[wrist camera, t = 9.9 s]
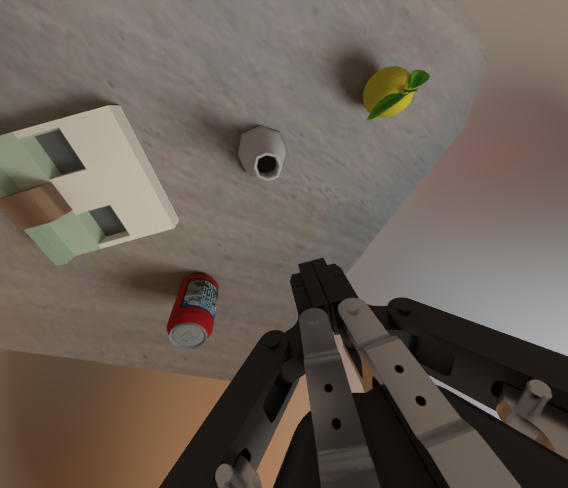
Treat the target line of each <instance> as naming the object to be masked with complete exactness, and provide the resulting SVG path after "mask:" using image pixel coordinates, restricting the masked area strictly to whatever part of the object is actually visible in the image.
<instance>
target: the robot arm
mask: <svg viewBox="0 0 568 488" xmlns="http://www.w3.org/2000/svg"><path fill="white" fill-rule="evenodd" d="M298 265H299V270H300V273H297V274H293V275H292V276H291V280H290V283H291V287H292V291H293V295H294V299H295V303H296V306H297V310H298V315H299V316H298V321H297V323H296V324H295V325H294V326H293V327H292V328H291V329H290V330H288V331H286V332H285V333H284V332H282V331H279V330H273V331H269V332H267V333H266V334H264V335H263V336H262V337H261V338H260V340H259V341H258V343H257V344H256V346H255V347H254V349H253V350H252V352H251V353H250V355H249V356H248V358H247V359H246V361H245V362H244V363H243V365H242V366H241V368H240V369H239V371H238V372H237V374H236V375H235V377H234V378H233V380H232V381H231V383H230V384H229V386H228V387H227V389H226V390H225V391H224V393H223V394H222V396H221V397H220V399H219V400H218V402H217V403H216V405H215V406H214V408H213V409H212V411H211V412H210V413H209V415H208V416H207V418H206V419H205V421H204V422H203V424H202V425H201V427H200V428H199V430H198V431H197V433H196V434H195V435H194V437H193V439H192V440H191V441H190V443H189V444H188V446H187V447H186V449H185V450H184V452H183V453H182V455H181V456H180V458H179V459H178V461H177V462H176V463H175V465H174V466H173V468H172V469H171V471H170V472H169V474H168V475H167V477H166V478H165V480H164V481H163V483H162V484H161V485H160V487H159V488H262V487H261V480H260V477H259V475H258V473H257V472H256V470H257V468H258V466H259V464H260V462H261V460H262V458H263V455H264V454H265V451H266V449H267V447H268V445H269V443H270V441H271V439H272V437H273V435H274V432H275V430H276V428H277V426H278V424H279V422H280V420H281V418H282V416H283V413H284V411H285V409H286V407H287V405H288V403H289V401H290V399H291V397H292V394H293V392H294V390H295V388H296V386H297V384H298V382H299V378H300V377H301V376H303V375H304V374H306V380H307V386H308V393H309V400H310V407H311V411H310V412H308V413H307V414H306V416H305V417H303V419H302V420H301V422H300V423H299V424H298V426H297V428H296V430H295V432H294V434H293V437H292V439H291V442H290V445H289V447H288V450H287V452H286V455H285V458H284V461H283V463H282V465H281V468H280V471H279V473H278V476H277V478H276V481H275V484H274V486H273V488H568V356H565V355H563V354H560V353H557V352H554V351H552V350H549V349H546V348H543V347H541V346H537V345H535V344H532V343H530V342H527V341H524V340H521V339H519V338H516V337H513V336H510V335H508V334H505V333H502V332H499V331H497V330H494V329H491V328H488V327H485V326H483V325H480V324H477V323H475V322H472V321H469V320H466V319H463V318H461V317H458V316H455V315H453V314H449V313H447V312H444V311H442V310H439V309H436V308H433V307H430V306H428V305H425V304H422V303H420V302H416V301H414V300H411V299H408V298H395V299H393V300H391V301H390V302H389V303H388V306H372V305H368V304H366V303H365V302H364V301H363V300H361V299H359V298H358V296H357V295H356V293H355V291H354V289H353V288H352V286H351V284H350V283H349V281H348V280H347V278H346V276H345V275H344V273H343V271H342V269H341V268H340V267H339V266H337V265H336V264H331V265H327V264H326V262H325V260H324V258H320V259H316V260H312V261H311V262H310V261H308V262H305V263H301V264H298ZM333 332H334V334H335V335H338V334H340V336H341V338H342V341H343V347H344V349H345V351H346V353H347V355H348V357H349V359H350V361H351V363H352V365H353V367H354V369H355V371H356V373H357V375H358V377H359V379H360V381H361V384H362V386H363V389H364V392H365V393H351V389H350V386H349V383H348V379H347V376H346V372H345V369H344V366H343V363H342V359H341V356H340V353H339V352H338V350H337V346H336V343H335V339H334V334H333ZM427 374H428V375H430V376H432V377H434V378H435V379H438V380H439V381H441V382H443V383H445V384H447V385H448V386H450V387H452V388H454V389H456V390H458V391H460V392H461V393H463V394H465V395H467V396H469V397H471V398H473V399H474V400H476V401H478V402H480V403H482V404H484V405H486V406H487V407H489V408H491V409H493V410H495V411H497V414H498V415H499V417H500V419H501V420H502V421H503V422H502V421H500V420H499V419H497V418H495V417H494V416H492V415H490V414H488V413H486V412H485V411H483V410H481V409H479V408H478V407H476V406H474V405H473V404H471V403H469V402H468V401H466V400H464V399H463V398H461V397H459V396H457V395H456V394H454V393H452V392H450V391H449V390H447V389H445V388H442V387H440V386H438V385H435V384H434V382H433V381H432V380H431V378H430V377H429V376H428V375H427Z"/></svg>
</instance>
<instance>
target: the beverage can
mask: <svg viewBox="0 0 568 488" xmlns="http://www.w3.org/2000/svg"><path fill="white" fill-rule="evenodd" d="M217 297H218V284H217V282H216V281H215V280H214V279H213V278H212V277H210V276H208V275H204V274H194V275H191V276H189V277H187V278H186V279H185V280H184V281H183V282H182V285H181V287H180V290H179V293H178V295H177V298H176V301H175V303H174V306H173V309H172V312H171V315H170V318H169V321H168V324H167V332H168V335H169V340H170V342H171V343H172V344H173V345H174V346H176V347H178V348H181V349H195V348H198V347H200V346H202V345H203V344H204V343H205V342H206V339H207V338H208V337H209V336H210V335H211V333H212V331H213V324H214V318H215V311H216V304H217Z"/></svg>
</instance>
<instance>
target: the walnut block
mask: <svg viewBox="0 0 568 488" xmlns="http://www.w3.org/2000/svg"><path fill="white" fill-rule="evenodd" d="M0 208H1V210H2V211H3V212H4V213H5V214H6V215H7V216H8V217H9V218H10V219H11V220H12V222H13V223H14V224H15V225H16V226H17V227H18V228H19V229H20V230H25V229H29V228H32V227H36V226H40V225H43V224H47V223H51V222H53V221H55V220H57V219H58V218H60V217H62V216H63V215H65V214H67V213H68V212H70V211H72V208H71V207H70V206H69V204H68V203H67V202H66V200H65V199H64V198H63V196H62V195H61V194H60V192H59V191H58V190H57V188H56V187H55V186H54V184H53V183H52V182H49V183H46V184H42V185H38V186H35V187H31V188H27V189H24V190H20V191H18V192H15V193H12V194H10V195H7V196H4V197H2V198H0Z"/></svg>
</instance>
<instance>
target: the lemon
mask: <svg viewBox="0 0 568 488" xmlns="http://www.w3.org/2000/svg"><path fill="white" fill-rule="evenodd" d="M429 77H430V76H429V74H428V73H426V72H425V71H422V70H414V71H412V74H410V73H409V72H408V71H407V70H405V69H403V68H401V67H397V66H394V67H386V68H384V69H381V70H379V71H377V72H376V73H375V74H374V75H373V76H372V77H371V78H370V79H369V80H368V82H367V83H366V85H365V88H364V91H363V103H364V106H365V108H366V110H367V111H368V112H369V113H370V115H369V117H368V119H367V120H370V119H373V118H375V117H391V116H394V115H396V114H398V113H400V112H401V111H402V110H403V109H404V108H406V107H407V106H408V104H409V103H410V101H411V100H412V98H413V95H414V92H415V91H418V88H417V89H415V88H416V87H418V86H420V85H422V84H424V83H425V82H426V81H427V80H428V79H429Z"/></svg>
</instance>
